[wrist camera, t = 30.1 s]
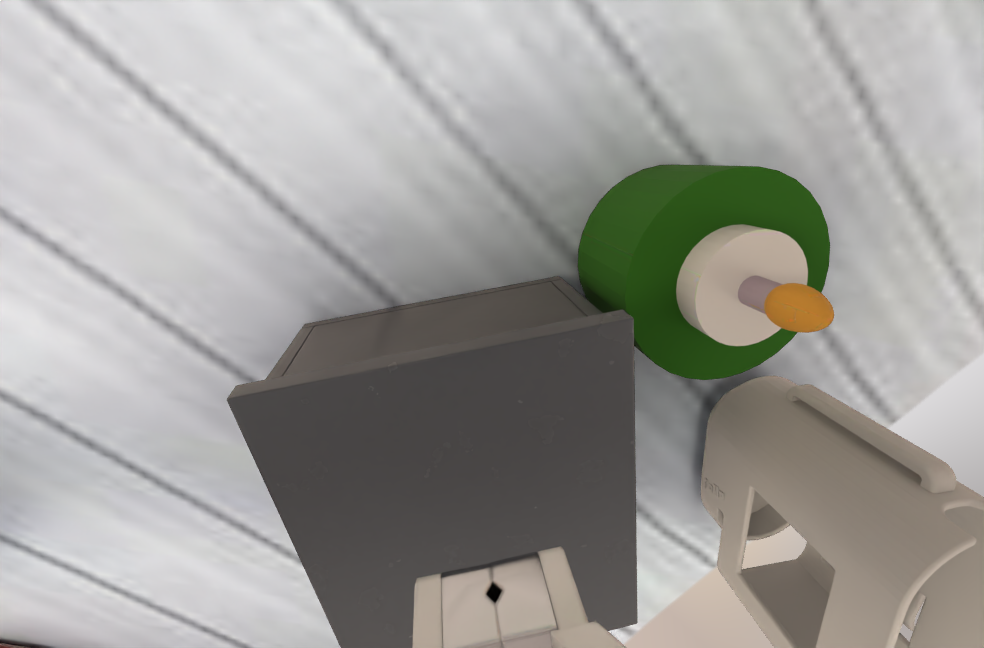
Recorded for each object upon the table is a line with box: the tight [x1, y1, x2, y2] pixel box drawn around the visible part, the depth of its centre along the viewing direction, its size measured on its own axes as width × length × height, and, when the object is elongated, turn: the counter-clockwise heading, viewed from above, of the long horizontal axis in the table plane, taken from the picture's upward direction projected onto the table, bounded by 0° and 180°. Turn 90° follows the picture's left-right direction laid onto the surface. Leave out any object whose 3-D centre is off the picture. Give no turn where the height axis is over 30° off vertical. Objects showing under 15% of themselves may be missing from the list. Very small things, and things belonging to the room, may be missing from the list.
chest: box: [265, 276, 602, 380], centre depth 21 cm, size 14×12×7 cm
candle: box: [578, 165, 834, 380], centre depth 18 cm, size 8×8×10 cm
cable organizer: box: [701, 376, 984, 648], centre depth 22 cm, size 7×12×12 cm, turn 4°
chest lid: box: [227, 309, 637, 648], centre depth 17 cm, size 15×12×1 cm
